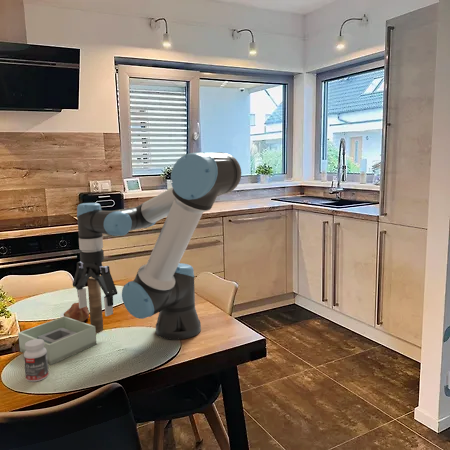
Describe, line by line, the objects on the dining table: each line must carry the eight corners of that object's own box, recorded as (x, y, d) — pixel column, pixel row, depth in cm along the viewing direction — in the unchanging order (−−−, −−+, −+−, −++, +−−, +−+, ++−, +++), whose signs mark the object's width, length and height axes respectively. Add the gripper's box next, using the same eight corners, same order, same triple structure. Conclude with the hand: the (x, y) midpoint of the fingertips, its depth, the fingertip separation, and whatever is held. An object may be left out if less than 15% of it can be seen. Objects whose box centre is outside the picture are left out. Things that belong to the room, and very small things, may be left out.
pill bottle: (25, 384, 112) (21, 348, 110) (26, 374, 117) (22, 340, 115) (49, 379, 114) (46, 344, 112) (48, 370, 119) (45, 336, 117)
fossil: (68, 321, 144) (66, 293, 149) (53, 328, 148) (52, 301, 152) (98, 323, 154) (96, 297, 159) (83, 330, 158) (82, 304, 162)
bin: (96, 344, 135) (95, 326, 134) (50, 364, 122) (49, 345, 121) (65, 333, 144) (64, 316, 143) (20, 351, 131) (18, 332, 130)
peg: (105, 329, 146) (102, 278, 143) (96, 333, 143) (92, 281, 140) (98, 326, 149) (94, 276, 146) (88, 330, 145) (84, 279, 142)
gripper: (126, 251, 137) (129, 314, 141) (77, 243, 151) (81, 301, 155) (107, 256, 131) (111, 322, 135) (58, 247, 145) (63, 307, 149)
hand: (95, 311), depth 145 cm, fingers open, 13 cm apart
